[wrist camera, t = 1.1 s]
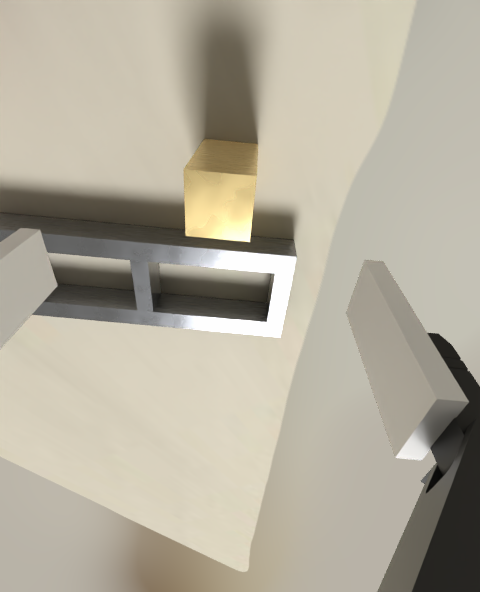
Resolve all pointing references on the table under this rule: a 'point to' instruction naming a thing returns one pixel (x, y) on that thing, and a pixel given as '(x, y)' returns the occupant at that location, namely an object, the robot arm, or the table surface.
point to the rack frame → (146, 278)
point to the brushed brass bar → (220, 190)
